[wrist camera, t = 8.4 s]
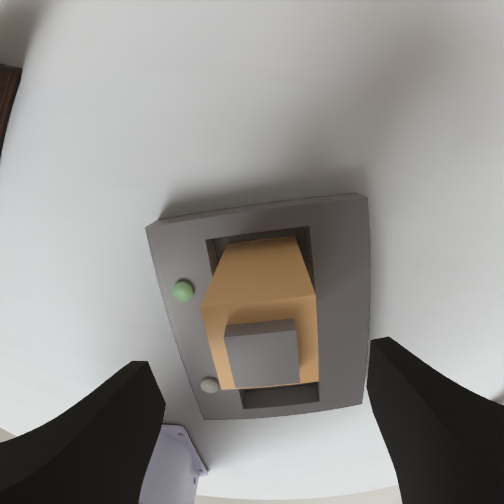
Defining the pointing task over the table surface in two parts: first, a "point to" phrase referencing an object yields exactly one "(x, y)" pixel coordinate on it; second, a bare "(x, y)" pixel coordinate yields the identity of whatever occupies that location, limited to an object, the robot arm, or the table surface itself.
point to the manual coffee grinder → (7, 95)
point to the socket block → (323, 281)
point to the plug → (262, 316)
